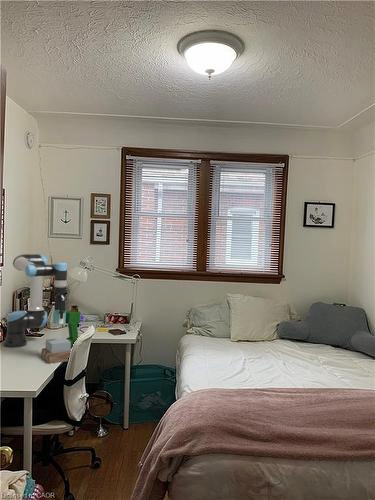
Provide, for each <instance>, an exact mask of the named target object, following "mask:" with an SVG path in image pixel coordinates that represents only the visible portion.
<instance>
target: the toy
mask: <svg viewBox="0 0 375 500" xmlns="http://www.w3.org/2000/svg"><path fill="white" fill-rule="evenodd" d="M65 311H66V320H65V324H66V325H67V326H68V337H66V339H67V340H69V341H70V342H71V349H72V348H73V347H74V346H73V344H74V342H75V341H76V340H77V338H78V337H79V331H78V324H81V311H79V306H78V305H77V304H76V305H75V304H74V305H70V310H65Z"/></svg>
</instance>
